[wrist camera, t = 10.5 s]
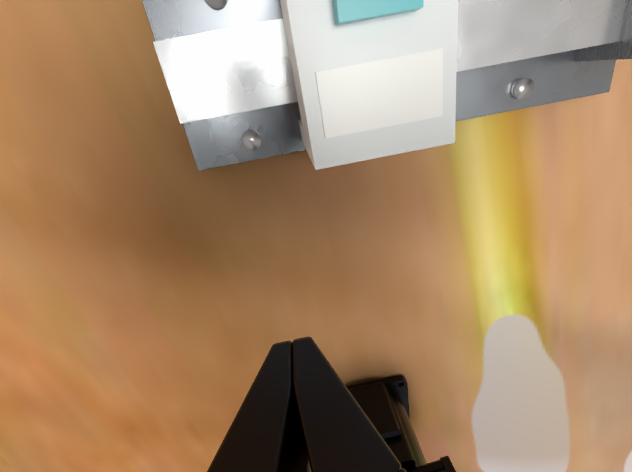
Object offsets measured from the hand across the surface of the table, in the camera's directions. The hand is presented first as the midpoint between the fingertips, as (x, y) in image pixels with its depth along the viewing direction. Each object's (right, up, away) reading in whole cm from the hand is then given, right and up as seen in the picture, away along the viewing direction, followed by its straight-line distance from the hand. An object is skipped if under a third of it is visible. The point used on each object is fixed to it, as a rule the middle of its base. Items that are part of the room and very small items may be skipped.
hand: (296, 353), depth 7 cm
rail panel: (+5, +12, +9) cm, 16 cm away
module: (+2, +11, +8) cm, 14 cm away
